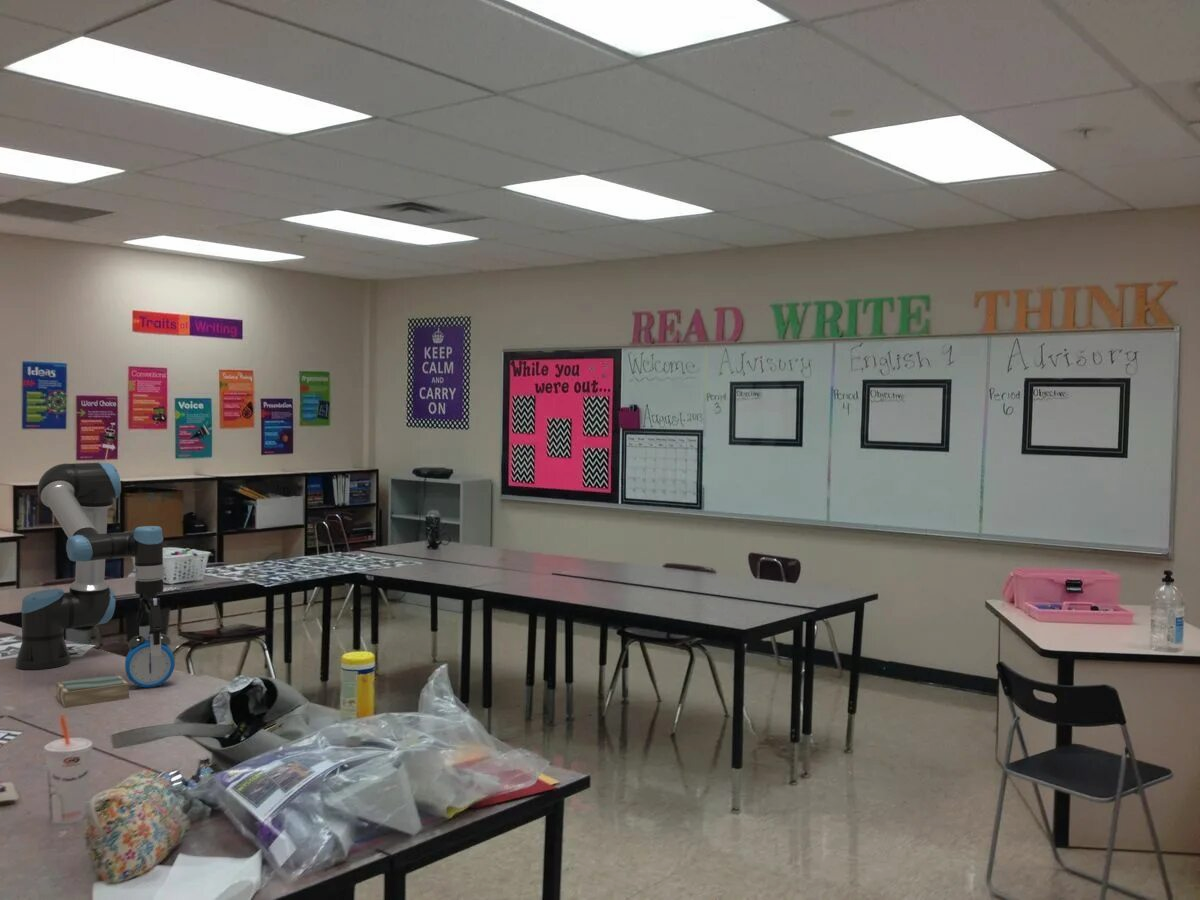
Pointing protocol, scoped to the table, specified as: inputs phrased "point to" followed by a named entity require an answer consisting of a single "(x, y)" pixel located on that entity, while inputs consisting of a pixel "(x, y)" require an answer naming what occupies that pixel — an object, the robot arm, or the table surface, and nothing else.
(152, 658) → the alarm clock
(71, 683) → the base
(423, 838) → the table surface
